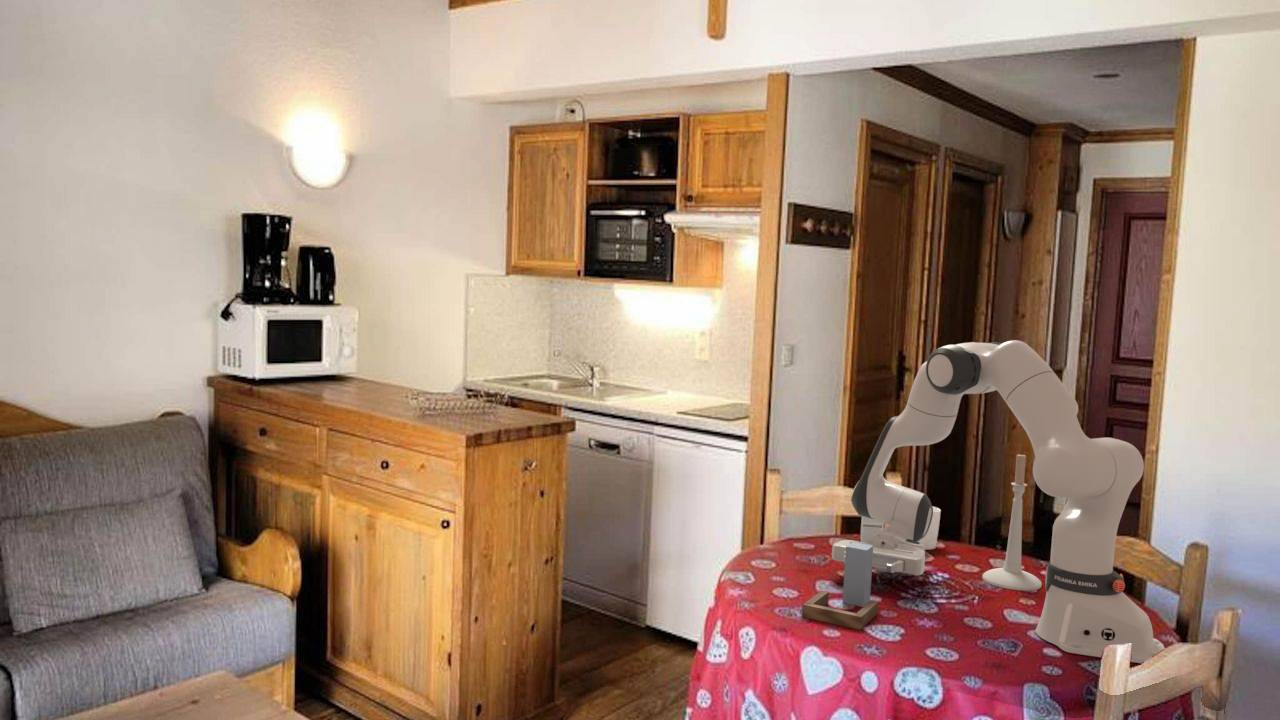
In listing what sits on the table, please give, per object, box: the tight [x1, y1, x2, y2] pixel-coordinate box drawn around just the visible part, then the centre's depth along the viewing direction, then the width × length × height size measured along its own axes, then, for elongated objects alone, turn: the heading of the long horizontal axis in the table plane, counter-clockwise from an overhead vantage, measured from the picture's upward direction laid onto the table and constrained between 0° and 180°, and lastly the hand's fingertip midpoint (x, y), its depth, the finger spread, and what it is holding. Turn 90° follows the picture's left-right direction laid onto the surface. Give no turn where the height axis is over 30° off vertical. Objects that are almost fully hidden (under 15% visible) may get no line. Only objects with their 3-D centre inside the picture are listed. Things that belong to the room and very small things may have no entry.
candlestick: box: [981, 453, 1043, 592], centre depth 225 cm, size 13×13×30 cm
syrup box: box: [860, 516, 885, 543], centre depth 256 cm, size 6×6×14 cm
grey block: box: [842, 542, 873, 608], centre depth 207 cm, size 4×4×12 cm
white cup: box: [920, 505, 942, 551], centre depth 254 cm, size 8×8×10 cm
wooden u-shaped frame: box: [801, 589, 879, 631], centre depth 198 cm, size 12×11×2 cm
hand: (868, 565), depth 212 cm, fingers open, 8 cm apart
